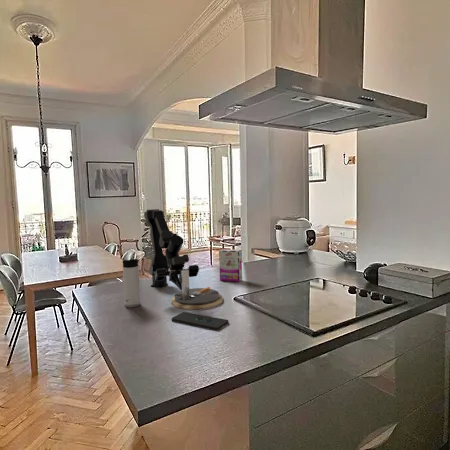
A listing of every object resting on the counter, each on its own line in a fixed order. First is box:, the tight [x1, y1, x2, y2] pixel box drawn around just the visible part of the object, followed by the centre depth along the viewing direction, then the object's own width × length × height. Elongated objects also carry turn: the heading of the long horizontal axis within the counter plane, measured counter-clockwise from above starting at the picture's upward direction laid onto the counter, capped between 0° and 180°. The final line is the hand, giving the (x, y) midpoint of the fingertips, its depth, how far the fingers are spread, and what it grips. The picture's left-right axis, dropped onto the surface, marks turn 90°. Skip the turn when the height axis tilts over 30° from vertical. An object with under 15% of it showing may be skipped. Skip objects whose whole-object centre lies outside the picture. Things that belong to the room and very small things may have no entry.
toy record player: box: [174, 270, 220, 305], centre depth 150 cm, size 20×19×14 cm
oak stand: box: [170, 293, 223, 311], centre depth 150 cm, size 22×22×1 cm
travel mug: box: [122, 258, 141, 308], centre depth 146 cm, size 6×7×20 cm
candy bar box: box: [218, 248, 243, 283], centre depth 183 cm, size 11×5×16 cm, turn 68°
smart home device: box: [171, 311, 229, 331], centre depth 126 cm, size 8×2×20 cm
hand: (181, 289), depth 146 cm, fingers closed
